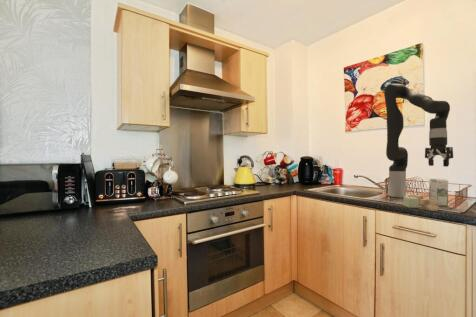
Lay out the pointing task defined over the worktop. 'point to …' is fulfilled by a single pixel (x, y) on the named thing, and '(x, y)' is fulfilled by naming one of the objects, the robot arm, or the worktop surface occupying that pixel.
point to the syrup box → (439, 191)
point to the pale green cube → (417, 197)
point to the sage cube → (411, 202)
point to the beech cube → (430, 204)
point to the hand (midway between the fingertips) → (438, 166)
